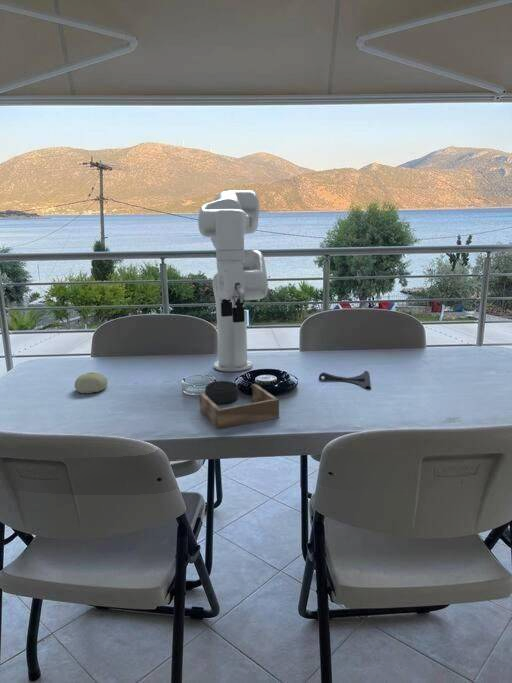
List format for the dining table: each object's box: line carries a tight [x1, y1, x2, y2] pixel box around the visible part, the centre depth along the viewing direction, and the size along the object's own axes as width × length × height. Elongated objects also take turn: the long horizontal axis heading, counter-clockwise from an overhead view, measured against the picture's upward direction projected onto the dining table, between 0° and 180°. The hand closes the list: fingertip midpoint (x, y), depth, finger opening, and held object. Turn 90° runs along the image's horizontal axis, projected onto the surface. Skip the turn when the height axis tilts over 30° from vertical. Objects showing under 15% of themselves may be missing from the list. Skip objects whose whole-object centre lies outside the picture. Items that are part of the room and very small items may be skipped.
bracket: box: [318, 370, 372, 390], centre depth 143 cm, size 14×15×3 cm
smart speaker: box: [204, 380, 239, 405], centre depth 130 cm, size 9×9×4 cm
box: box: [198, 383, 280, 430], centre depth 119 cm, size 14×16×4 cm
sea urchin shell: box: [73, 371, 109, 394], centre depth 140 cm, size 9×8×8 cm
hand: (232, 319), depth 134 cm, fingers open, 9 cm apart
